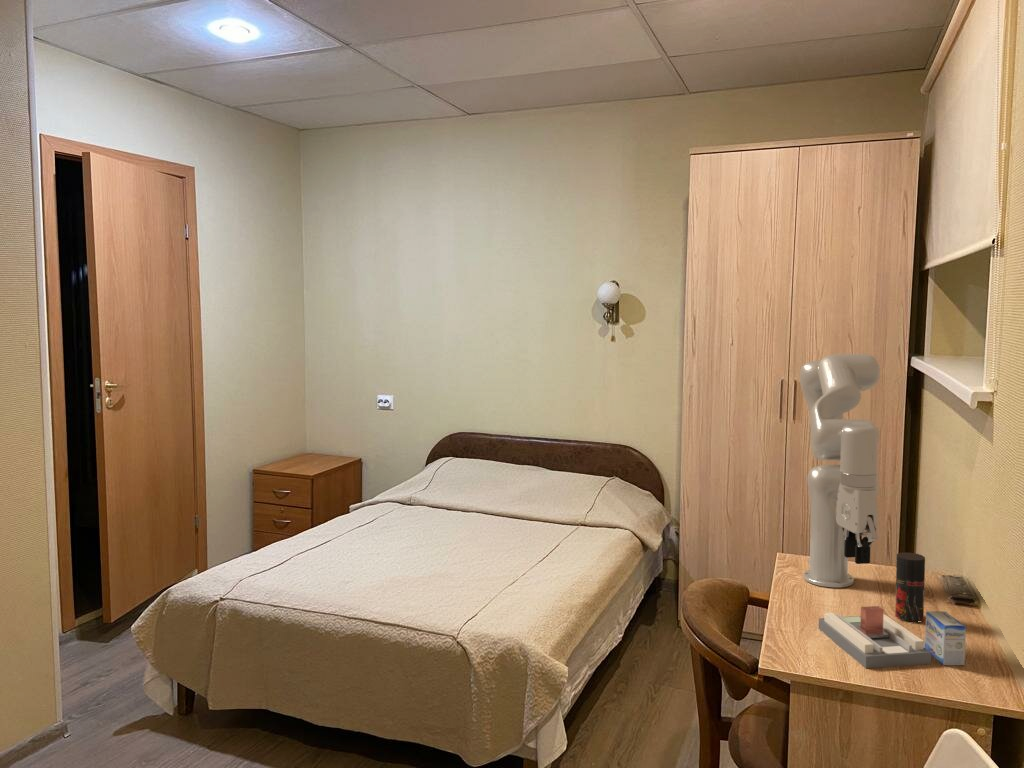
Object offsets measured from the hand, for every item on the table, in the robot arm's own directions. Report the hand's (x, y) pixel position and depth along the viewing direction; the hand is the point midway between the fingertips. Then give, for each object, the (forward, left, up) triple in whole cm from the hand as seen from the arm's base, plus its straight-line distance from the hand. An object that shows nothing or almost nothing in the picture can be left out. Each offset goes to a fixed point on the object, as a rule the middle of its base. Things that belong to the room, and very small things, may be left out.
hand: (856, 559), depth 173 cm
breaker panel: (+7, 0, -17) cm, 18 cm away
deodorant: (-6, +17, -17) cm, 25 cm away
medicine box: (+14, +12, -18) cm, 25 cm away
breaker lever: (+7, 0, -14) cm, 16 cm away
